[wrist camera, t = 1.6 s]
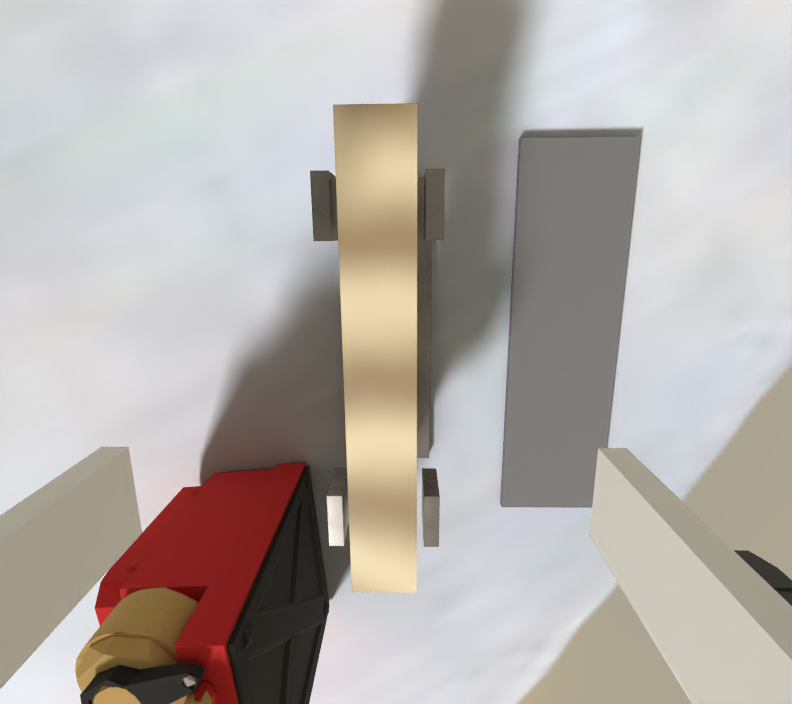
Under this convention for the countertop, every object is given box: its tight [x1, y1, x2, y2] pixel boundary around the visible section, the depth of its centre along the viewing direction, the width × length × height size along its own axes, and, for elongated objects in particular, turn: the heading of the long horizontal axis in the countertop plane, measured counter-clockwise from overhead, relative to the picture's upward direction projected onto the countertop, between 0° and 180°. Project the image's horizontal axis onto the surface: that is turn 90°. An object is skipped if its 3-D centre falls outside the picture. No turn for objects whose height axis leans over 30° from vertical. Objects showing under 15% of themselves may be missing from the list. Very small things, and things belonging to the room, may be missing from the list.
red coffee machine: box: [76, 462, 329, 704], centre depth 31 cm, size 16×10×20 cm, turn 5°
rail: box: [333, 103, 417, 593], centre depth 24 cm, size 24×4×4 cm, turn 1°
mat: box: [500, 136, 641, 507], centre depth 35 cm, size 28×8×1 cm, turn 1°
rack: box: [310, 169, 445, 547], centre depth 29 cm, size 21×6×13 cm, turn 1°
